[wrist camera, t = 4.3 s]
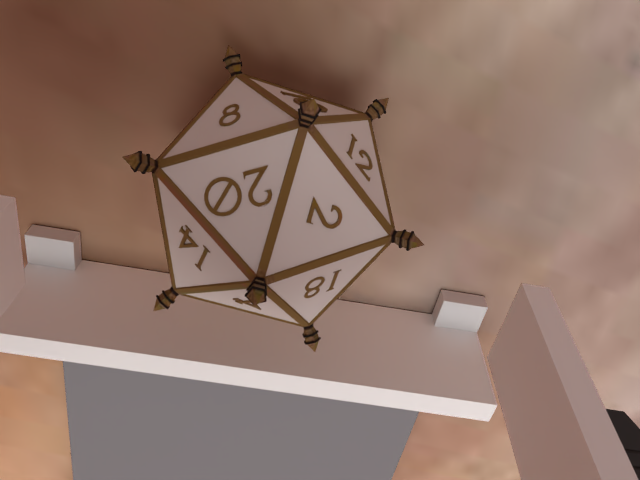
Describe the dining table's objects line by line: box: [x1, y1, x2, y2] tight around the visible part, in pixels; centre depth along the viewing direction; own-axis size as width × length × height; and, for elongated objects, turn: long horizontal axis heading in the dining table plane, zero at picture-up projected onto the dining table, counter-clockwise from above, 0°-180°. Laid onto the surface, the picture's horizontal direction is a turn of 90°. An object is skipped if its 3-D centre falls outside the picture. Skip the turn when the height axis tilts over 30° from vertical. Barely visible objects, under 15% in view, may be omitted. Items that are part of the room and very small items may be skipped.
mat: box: [63, 361, 419, 480], centre depth 33 cm, size 18×18×1 cm
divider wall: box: [0, 225, 497, 421], centre depth 25 cm, size 4×20×5 cm, turn 80°
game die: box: [123, 46, 424, 352], centre depth 19 cm, size 9×8×10 cm
